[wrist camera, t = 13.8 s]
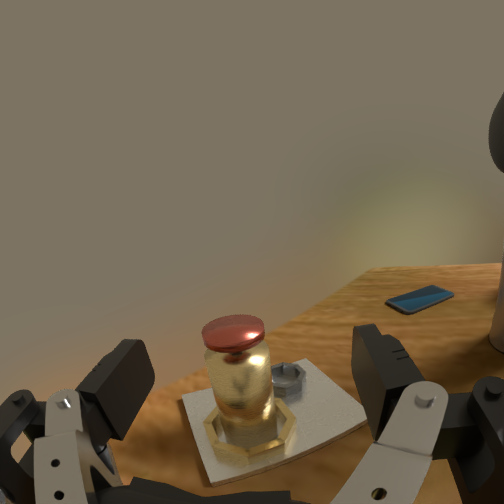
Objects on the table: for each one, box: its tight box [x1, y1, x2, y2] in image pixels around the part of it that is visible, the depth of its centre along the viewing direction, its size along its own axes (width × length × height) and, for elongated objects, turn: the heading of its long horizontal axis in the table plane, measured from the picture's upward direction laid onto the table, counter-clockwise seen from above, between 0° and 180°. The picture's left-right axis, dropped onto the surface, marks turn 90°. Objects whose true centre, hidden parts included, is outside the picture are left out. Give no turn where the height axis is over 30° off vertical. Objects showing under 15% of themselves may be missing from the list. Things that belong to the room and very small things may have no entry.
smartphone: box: [386, 285, 454, 315], centre depth 49 cm, size 8×15×1 cm, turn 103°
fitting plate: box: [182, 358, 368, 487], centre depth 27 cm, size 17×14×2 cm
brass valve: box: [202, 315, 277, 449], centre depth 23 cm, size 5×5×12 cm
